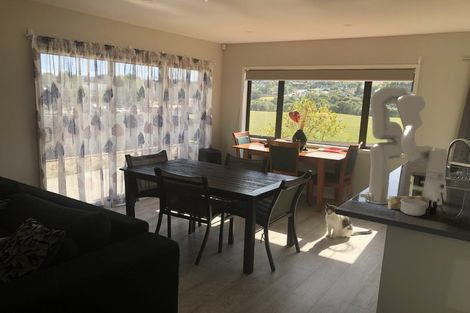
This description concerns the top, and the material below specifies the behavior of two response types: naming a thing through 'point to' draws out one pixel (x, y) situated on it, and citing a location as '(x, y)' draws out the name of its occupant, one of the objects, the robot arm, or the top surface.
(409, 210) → the saucepan
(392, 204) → the stop board
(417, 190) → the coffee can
